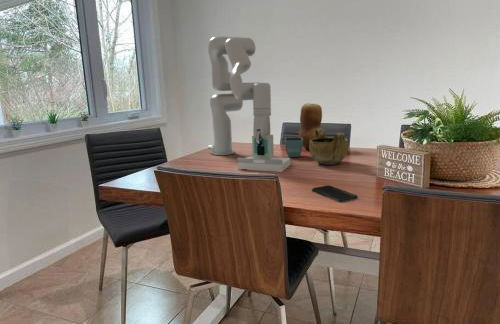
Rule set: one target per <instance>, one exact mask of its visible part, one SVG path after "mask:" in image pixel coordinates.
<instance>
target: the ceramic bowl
mask: <svg viewBox="0 0 500 324" xmlns="http://www.w3.org/2000/svg"><path fill="white" fill-rule="evenodd" d="M315 134H316V138H314V139H311V140H310V143H309V149H310V150H309V154H310V156H311V158H312V159H313V160H314V161H315V162H317V163H320V164H322V165H325V166H331V165H337V164H338V163H341V162H342V161H343V160H344V159H345V158H346V156H347V154H348V149H349V146H348V145H349V143H348V142H349V141H348V139H347V138H346V135H345V133H344V132H339V133H335V134H334V136H326V132H325V130H324V128H321V129H316V130H315Z"/></svg>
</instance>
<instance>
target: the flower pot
mask: <svg viewBox="0 0 500 324" xmlns="http://www.w3.org/2000/svg"><path fill="white" fill-rule="evenodd" d="M284 146H285V152H286V155H287V158H299V157H300V156H301V154H302V150H303V139H302V138H299V137H284Z"/></svg>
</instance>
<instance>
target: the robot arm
mask: <svg viewBox="0 0 500 324" xmlns="http://www.w3.org/2000/svg"><path fill="white" fill-rule="evenodd" d="M207 49H208V50H207V51H208V52H207V53H208V55H209V60H210V64H211V81H212V83H211V84H212V88H213V90H214V91H217V92H229V91H230V92H231V93H230V92H229V93H216V94H214V95H212V96H211V97H210V99H209V105H210V109H211V116H212V128H213V129H212V131H213V144H212V145H211V144H210V145H208V146H207V148H208V150H212V151H211V154H212V155H214V156H229V155H233V154H236V150H234V149H233V142H232V141H233V138H232V122H231V121H232V120H231V118H230V115H228V114H227V113H229V112H230V113H231V112H238V111H241V110H242V108H243V104H244V101H252V104H253V105H252V109H253V111H252V112H253V113H252V114H253V117H254V118H253V124H252V125H253V131H252V132H253V134H252V136H253V138H254V139H256V143H257V155H265V150H264V139H265V137H266V136H268V135H271V118H270V117H271V116H272V110H271V109H272V104H271V102H272V101H271V100H272V98H271V96H272V95H271V93H272V92H271V91H272V90H271V83H269V82H259V81H258V82H243V78H242V76H241V75H242V74H244V73H246V72H248V70H250V68H251V65H252V61H251V60H250V57H252V56H254V54H255V53H256V44H255V41H254V40H253V39H252V38H250V37H242V36H224V35H223V36H214V37H211V38H210V40H209V42H208V45H207ZM224 55H227V57H228V59H229V62H230V64H231V66H232V70H231V71H229V63H228V60H227V58H226V57H225V56H224ZM260 138H262V139H260ZM260 140H261V141H262V142H261V141H260Z"/></svg>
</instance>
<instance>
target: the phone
mask: <svg viewBox="0 0 500 324" xmlns="http://www.w3.org/2000/svg"><path fill="white" fill-rule="evenodd" d="M311 192H313V193H316V194H319V195H320V196H322V197H325V198H328V199H330V200H333V201H335V202H337V203H344V202H349V201H353V200H357V199H358V195H356V194H354V193H351V192H348V191H346V190H343V189H341V188H338V187H335V186H332V185H323V186H317V187H312V188H311Z"/></svg>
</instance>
